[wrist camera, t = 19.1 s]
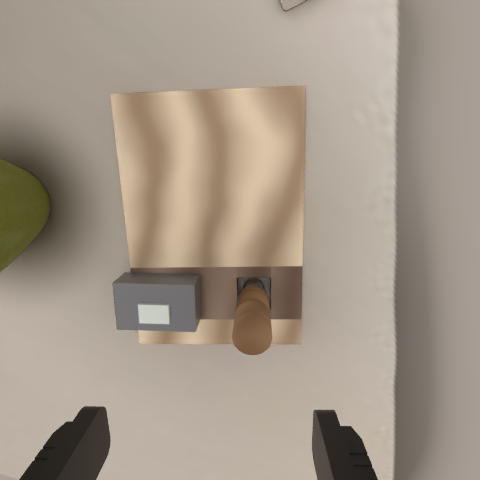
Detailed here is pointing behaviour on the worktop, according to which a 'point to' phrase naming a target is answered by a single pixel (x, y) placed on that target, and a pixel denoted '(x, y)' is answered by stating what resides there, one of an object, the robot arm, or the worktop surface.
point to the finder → (157, 302)
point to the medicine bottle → (290, 3)
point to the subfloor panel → (216, 198)
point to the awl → (252, 319)
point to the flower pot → (20, 211)
